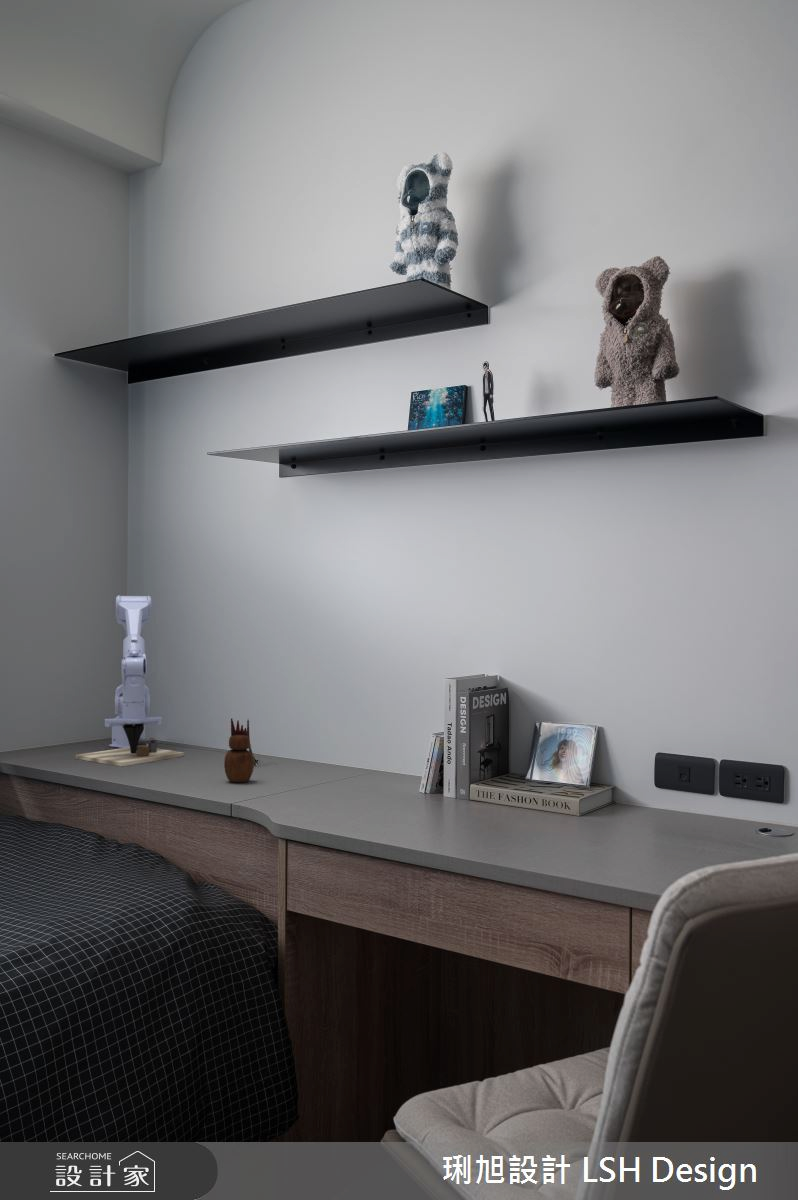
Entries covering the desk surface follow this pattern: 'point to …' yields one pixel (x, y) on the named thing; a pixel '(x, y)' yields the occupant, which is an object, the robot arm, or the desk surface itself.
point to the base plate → (127, 756)
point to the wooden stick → (142, 749)
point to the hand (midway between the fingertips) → (133, 752)
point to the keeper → (149, 744)
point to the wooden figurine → (238, 756)
